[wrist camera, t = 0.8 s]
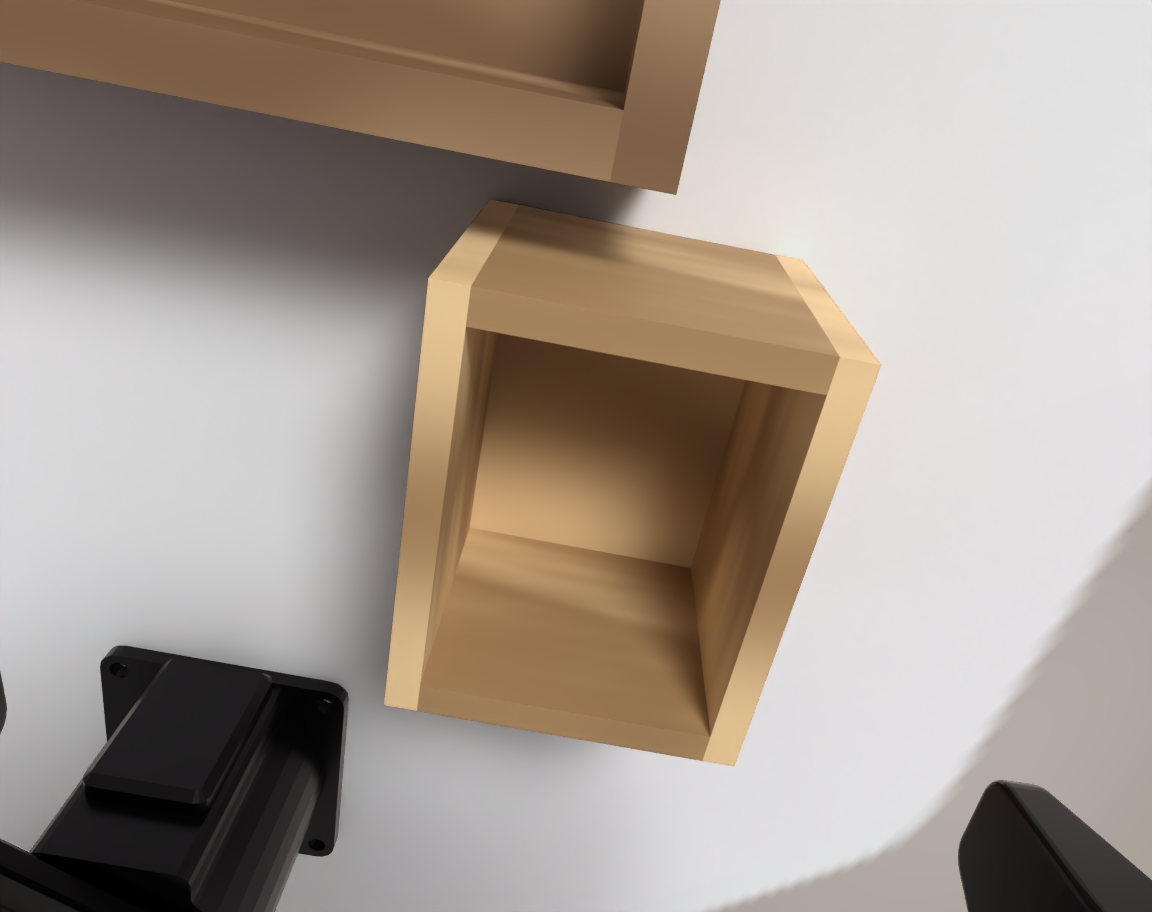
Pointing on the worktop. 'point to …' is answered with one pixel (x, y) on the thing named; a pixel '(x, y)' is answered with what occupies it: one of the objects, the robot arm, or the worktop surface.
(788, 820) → the worktop surface
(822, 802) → the worktop surface
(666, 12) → the walnut crate
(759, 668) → the oak crate
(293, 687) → the robot arm
